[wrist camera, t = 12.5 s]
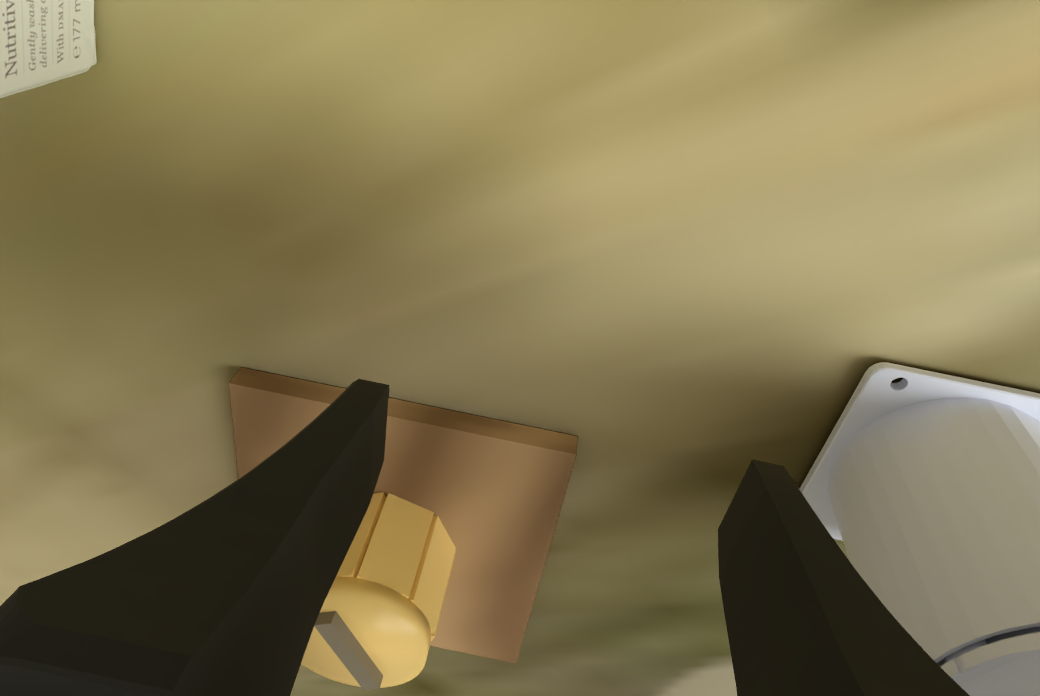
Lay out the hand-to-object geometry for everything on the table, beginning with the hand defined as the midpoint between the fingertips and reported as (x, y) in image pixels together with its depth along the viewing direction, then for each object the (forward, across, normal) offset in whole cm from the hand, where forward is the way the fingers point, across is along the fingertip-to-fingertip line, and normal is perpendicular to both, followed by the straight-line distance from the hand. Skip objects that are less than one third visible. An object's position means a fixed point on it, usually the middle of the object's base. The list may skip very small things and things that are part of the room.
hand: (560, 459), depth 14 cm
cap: (+9, +5, +15) cm, 18 cm away
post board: (+10, +5, +15) cm, 19 cm away
